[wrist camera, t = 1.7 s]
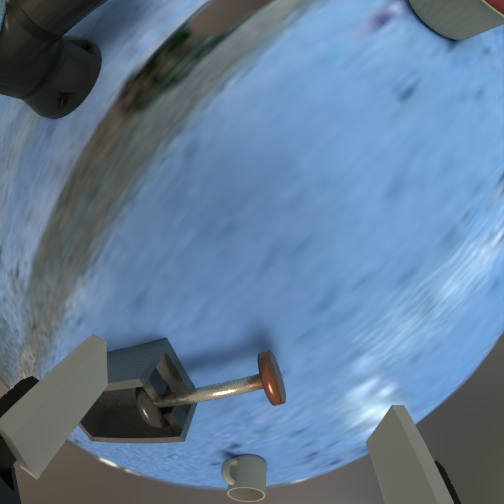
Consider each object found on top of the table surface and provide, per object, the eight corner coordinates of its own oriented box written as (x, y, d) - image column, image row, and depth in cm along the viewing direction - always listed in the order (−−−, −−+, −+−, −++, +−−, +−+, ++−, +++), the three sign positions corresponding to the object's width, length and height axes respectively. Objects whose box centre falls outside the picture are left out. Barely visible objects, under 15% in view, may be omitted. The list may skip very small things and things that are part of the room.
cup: (250, 473, 47) (247, 504, 38) (214, 455, 46) (207, 487, 37) (273, 462, 45) (273, 495, 36) (237, 443, 44) (232, 478, 36)
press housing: (166, 337, 40) (138, 378, 29) (199, 395, 42) (184, 441, 31) (83, 357, 42) (51, 388, 32) (115, 406, 44) (91, 441, 34)
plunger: (266, 335, 34) (265, 371, 27) (285, 380, 36) (288, 419, 28) (149, 365, 37) (127, 397, 29) (173, 404, 38) (159, 438, 30)
